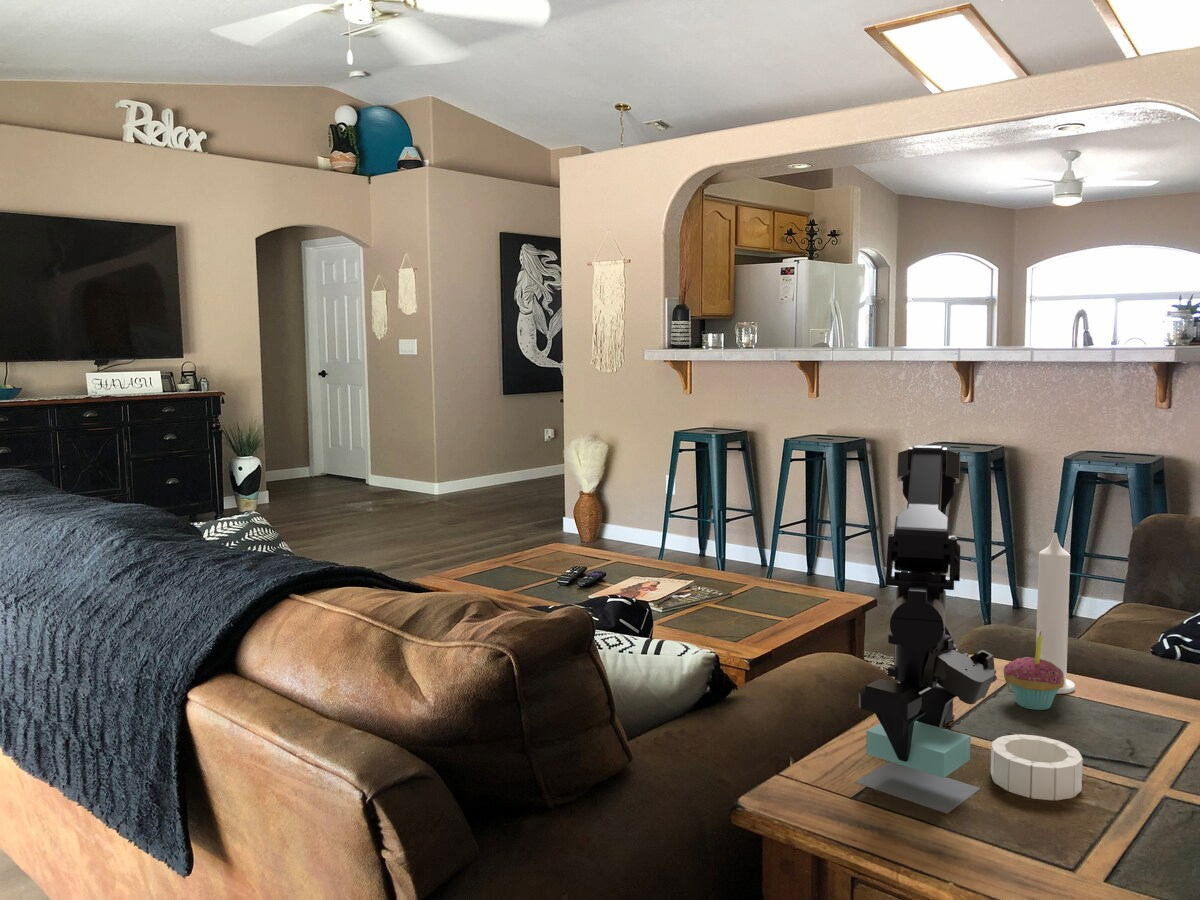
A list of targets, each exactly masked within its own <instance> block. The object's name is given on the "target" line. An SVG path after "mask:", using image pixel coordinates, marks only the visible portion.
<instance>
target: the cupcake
mask: <svg viewBox="0 0 1200 900" xmlns="http://www.w3.org/2000/svg"><path fill="white" fill-rule="evenodd" d="M1041 643H1042V636H1041V631H1040V634H1039V636H1037V644H1036V643H1035V655H1034V657H1032V656H1022V657H1019V658H1015V659H1013V660H1012V661H1009V662H1008V663H1007V664H1005V666H1004V667H1003V678H1004V681H1005V682H1006V683H1007V684H1010V686H1011V688H1012V692H1013V695H1014V698H1015V702H1016V704H1017V705H1018V706H1020V707H1023V708H1025V709H1028V710H1029V709H1030V710H1035V711H1037V710H1038V711H1043V710H1049V709H1051V707H1052V705H1053V702H1054V699H1055V697H1056V693H1057V692H1058V690H1059V689H1060V688H1062V687H1063V685H1064V675H1063V672H1062V670H1060V669H1059V668H1058V667H1057V666H1055V665H1054V664H1052V663H1051V662H1048V661H1046V660H1041V659H1040V652H1041Z"/></svg>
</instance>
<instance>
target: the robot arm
mask: <svg viewBox="0 0 1200 900" xmlns="http://www.w3.org/2000/svg"><path fill="white" fill-rule="evenodd" d="M896 467H897V469H896V470H897V471H896V477H897V481H898V482H902V495H903V497H904V498H905V500H906V502H907V505H906V509H905V510H904V511H902V512H900V513H899V514H898V515H896V516H895V522H894V530H893V532H888V536H887V537H888V538H887V553H886V564H885V565H886V566H885V569H886V570H885V583H884V584H885V586H887V587H890V586H891V587H896V588H895V603H894V605H893V607H892V613H891V616H890V620H889V629H890V634H888V641H887V643H888V644H892V645H894V650H893V651H894V655H893V657H894V658H893V659H894V664H893V665H890V666H888V667H887V676H888V677H892V678H894V681H892V680H888V679H883V678H879V679H877V680H875V681H874V680H873V681H872V682H870V683H868V684H866V685H864V687H862V688H861V689H860V690H858V707H859V709H860V710H863V711H866V712H872V713H874V714H875V716H876V718H877V719H878V721H879V723H881V725H882V727H883V729H884V731H885V733H886V735H887V737H888V739H889V741H890V743H891V745H892V747H893V749H894V751H895V753H896V756H897V758H898V759H899V760H901V761H904V762H907V761H908V758H909V753H910V748H911V741H912V734H913V727H914V722H915V721H918V722H922V723H925V724H929V725H932V726H936V727H940V728H942V727H943V726H945V725H946V724H948V723H950V722H952V721H954V720H955V715H954V714H953V713H954V712H953V710H954V707H953V706H954V699H955V698H958V700H959V701H961V702H963V703H964V704H968V705H975V704H976V703H977V702H978V701H979V700H982V699H985V698H986V696H987V694H988V692H989V689H990V687H991V684H992V683H994V682H996V681H997V679H998V677H997V675H996V674H997V669H995V658H994V655H993V654H991V653H990V652H988V651H986V650H984V649H981V650H979V651H977V652H975V653H974V654H973V655H971V656H969V655H970V654H969V653H967V652H965V653H961V652H959V651H958V648H957V643H954V639H953V638H952V629H951V627H950V625H949V624H948V622H947V620H946V602H947V601H946V597H947V596H946V595H947V593H946V592H947V591H955V582H960V580H961V579H960V577H961V576H960V575H961V574H960V573H961V544H960V543H959V542H958V538H957V537H956V535H950V518H949V517H948V516H947V515H946V514H944V511H945V510H946V508H947V507H948V505H949V504H950V502H951V500H952V499H953V497H954V495H955V484H960V482H961V477H960V474H961V454H960V453H959V452H954V451H952V450H948V447H943V446H942V445H932V444H931V445H929V444H928V445H926V444H924V445H923V444H922V445H921V444H920V445H919V444H914V445H913V446H908V449H906V450H903V451H899V452H897V466H896ZM893 564H894V566H893ZM893 567H894V568H893ZM893 569H894V570H895V571H894V572H893ZM893 573H894V575H893ZM947 573H949V579H947V575H946V574H947ZM946 590H947V591H946ZM895 681H898V682H895Z"/></svg>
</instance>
